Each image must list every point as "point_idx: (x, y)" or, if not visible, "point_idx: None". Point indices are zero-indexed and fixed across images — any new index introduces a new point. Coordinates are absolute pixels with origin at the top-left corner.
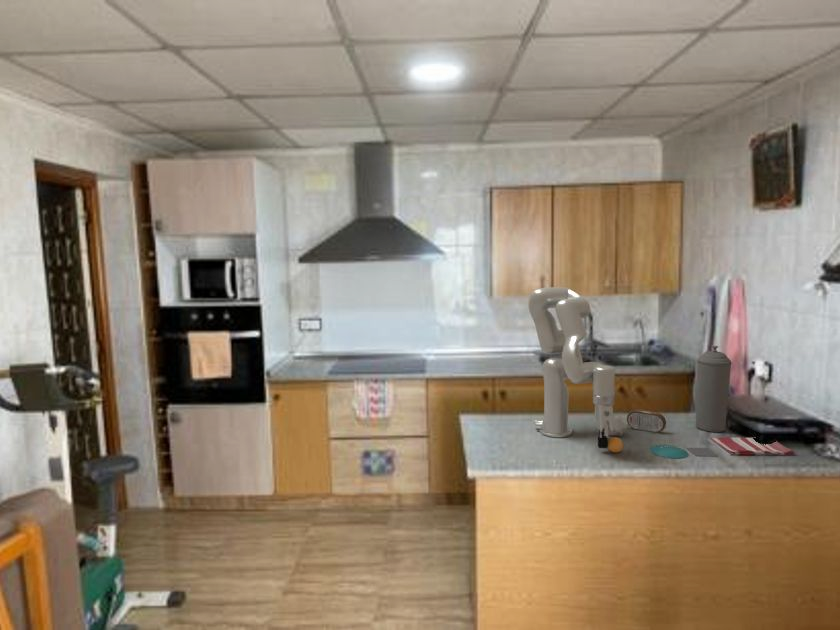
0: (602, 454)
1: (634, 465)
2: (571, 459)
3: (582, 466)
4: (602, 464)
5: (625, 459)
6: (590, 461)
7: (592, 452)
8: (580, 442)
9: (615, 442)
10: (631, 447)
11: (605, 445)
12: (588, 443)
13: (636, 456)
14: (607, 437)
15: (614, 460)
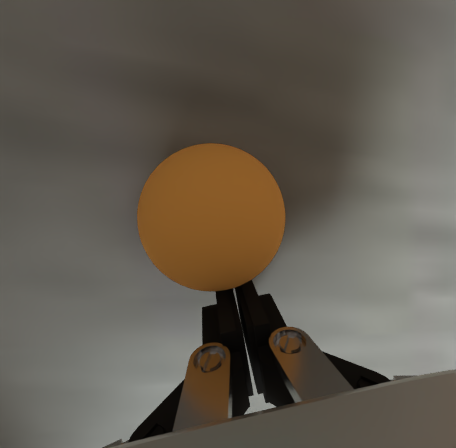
0: (270, 282)
1: (439, 92)
2: None
3: (445, 368)
4: (422, 283)
5: (339, 141)
6: (383, 339)
7: None
8: (81, 406)
9: (280, 227)
10: (50, 46)
11: (270, 297)
12: (82, 364)
13: (269, 41)
14: (306, 336)
15: (362, 216)
